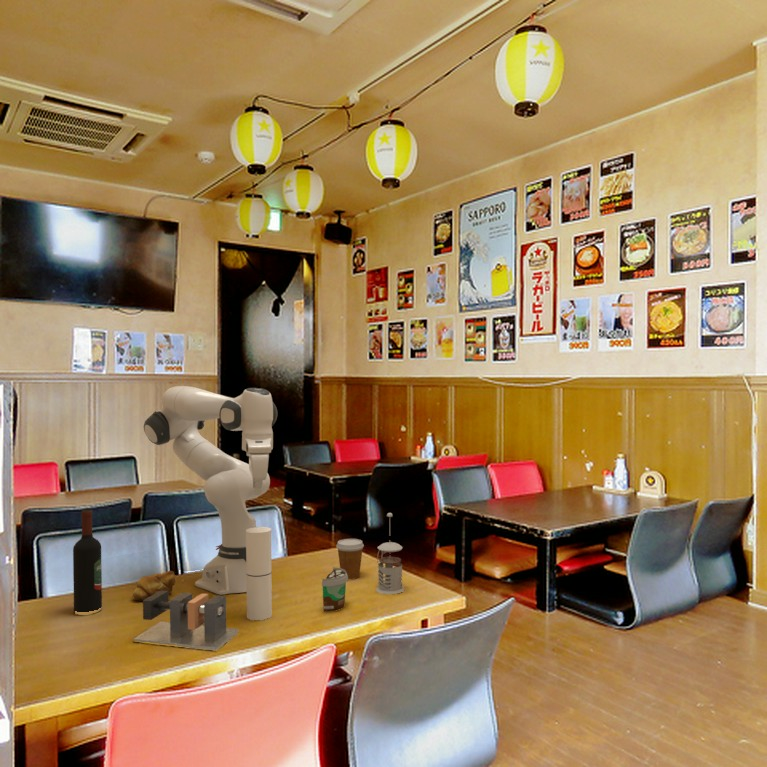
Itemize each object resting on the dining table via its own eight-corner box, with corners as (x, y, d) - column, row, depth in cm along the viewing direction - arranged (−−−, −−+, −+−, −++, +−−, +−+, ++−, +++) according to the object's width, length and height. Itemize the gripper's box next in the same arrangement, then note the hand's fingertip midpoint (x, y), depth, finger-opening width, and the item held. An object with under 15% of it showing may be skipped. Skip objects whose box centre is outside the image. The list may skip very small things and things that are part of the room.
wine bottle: (74, 608, 188) (73, 509, 188) (102, 604, 191) (101, 506, 191) (73, 617, 181) (71, 514, 181) (101, 613, 184) (100, 511, 184)
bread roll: (136, 605, 190) (136, 579, 190) (127, 597, 198) (126, 572, 198) (178, 596, 198) (178, 571, 198) (167, 588, 206) (167, 564, 206)
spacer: (187, 629, 162) (187, 602, 162) (202, 619, 169) (201, 593, 169) (194, 630, 161) (194, 603, 161) (208, 619, 168) (208, 594, 168)
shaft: (143, 619, 164) (142, 600, 164) (161, 608, 172) (160, 590, 172) (213, 626, 159) (213, 606, 159) (228, 614, 167) (228, 596, 167)
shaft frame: (133, 642, 163) (132, 601, 163) (160, 625, 175) (160, 586, 174) (216, 651, 157) (215, 608, 157) (238, 632, 169) (238, 592, 169)
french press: (384, 596, 196) (384, 517, 196) (367, 586, 206) (366, 510, 206) (411, 591, 201) (410, 513, 201) (392, 581, 211) (391, 507, 211)
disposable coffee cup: (352, 570, 223) (351, 537, 223) (369, 576, 216) (369, 541, 216) (331, 576, 217) (330, 541, 217) (348, 582, 210) (348, 547, 210)
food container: (342, 614, 181) (342, 580, 181) (322, 613, 182) (321, 579, 182) (352, 599, 193) (352, 567, 193) (333, 598, 194) (333, 566, 194)
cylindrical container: (250, 622, 176) (249, 534, 176) (244, 614, 182) (243, 528, 182) (275, 617, 179) (274, 530, 179) (267, 609, 186) (266, 525, 185)
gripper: (244, 440, 191) (244, 485, 191) (248, 447, 171) (248, 498, 171) (265, 440, 193) (265, 484, 193) (271, 447, 173) (271, 497, 173)
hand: (257, 491), depth 182 cm, fingers open, 8 cm apart
